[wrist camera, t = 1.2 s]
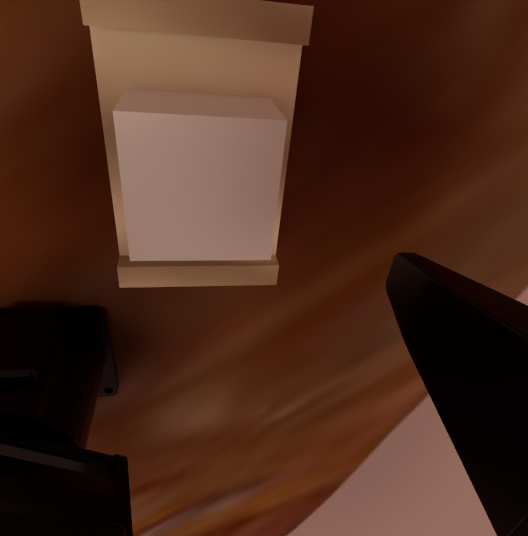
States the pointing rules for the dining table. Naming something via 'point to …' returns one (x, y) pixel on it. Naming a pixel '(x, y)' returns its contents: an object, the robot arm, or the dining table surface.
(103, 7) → the castle tower
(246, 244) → the pale pink square block
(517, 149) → the dining table surface
